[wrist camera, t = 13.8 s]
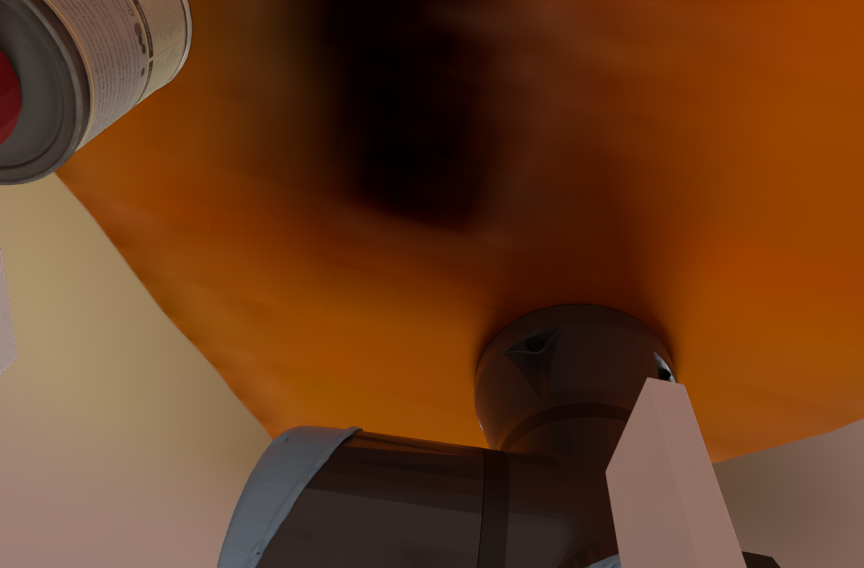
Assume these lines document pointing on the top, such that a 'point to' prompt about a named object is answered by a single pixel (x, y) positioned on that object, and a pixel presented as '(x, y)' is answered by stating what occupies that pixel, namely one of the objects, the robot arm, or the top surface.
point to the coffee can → (83, 71)
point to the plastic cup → (8, 98)
